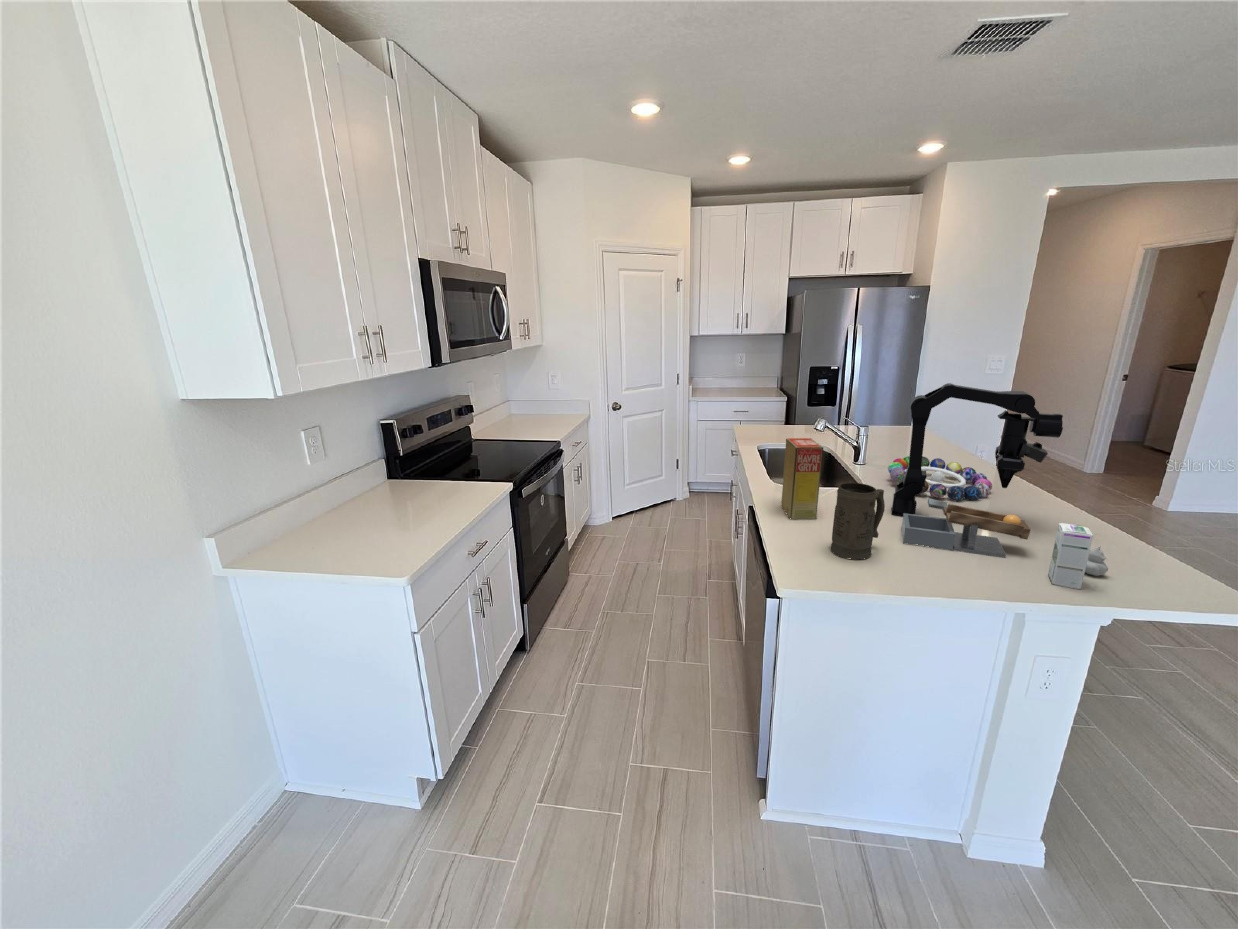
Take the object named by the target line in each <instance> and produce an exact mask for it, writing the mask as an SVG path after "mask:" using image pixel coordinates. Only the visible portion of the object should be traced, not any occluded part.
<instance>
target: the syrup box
mask: <svg viewBox="0 0 1238 929" xmlns="http://www.w3.org/2000/svg"><path fill="white" fill-rule="evenodd" d="M1056 531H1057V532H1056V535H1055V536H1056V537H1055V540H1054V545H1053V550H1052V555H1051V559H1050V564H1049V568H1048V574H1047V575H1048V578H1049V580H1050V583H1051V584H1052V585H1056V586H1060V587H1065V588H1069V589H1070V588H1071V589H1076V590H1081V589H1082V585H1083V582H1084V578H1085V574H1086V573H1085V569H1086V565H1087V560H1088V556H1089V551H1090V550H1091V545H1092V541H1093V537H1094V535H1093V533H1092V531H1091V530H1090V529H1089V527H1088V526H1086V525H1079V524H1074V523H1073V524H1072V523H1062V522H1058V527H1057V530H1056Z"/></svg>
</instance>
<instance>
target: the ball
mask: <svg viewBox="0 0 1238 929" xmlns="http://www.w3.org/2000/svg"><path fill="white" fill-rule="evenodd" d="M1006 515H1007V514H1006ZM1021 520H1022V519H1020V517H1019V516H1017V515H1014V514H1008V515H1007V516H1005V517H1004V519H1003V522H1008V523H1013V524H1018V525H1020V524H1021Z"/></svg>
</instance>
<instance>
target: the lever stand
mask: <svg viewBox="0 0 1238 929" xmlns="http://www.w3.org/2000/svg"><path fill="white" fill-rule="evenodd" d="M962 526H963V527H962V532H956V531H954V532H955V540H954V546H953V551H954V550H955V551H956V552H961V551H964V552H963V553H968V552H969V553H970V554H976V555H984V556H989V557H991V556H992V557H998V558H1002V559H1003V558H1005V559H1006V558H1007V554H1006V552H1005V549H1004V548H1003V546H1002V544H1001V542H1000V540H999V538H998V537H995V536H988V535H987V536H986V535H979V534H978V530H979V529H978V524H971V525H970V527H969V526H964V525H962ZM969 553H968V554H969Z"/></svg>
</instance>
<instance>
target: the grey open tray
mask: <svg viewBox="0 0 1238 929" xmlns="http://www.w3.org/2000/svg"><path fill="white" fill-rule="evenodd" d="M901 520H902V522H901V529H900V530H901V537H903V538H902V544H904V543H908V544H907V545H911V544H918V545H924V546H923V547H925V546H929V547H928V548H931V547H934V548H933V549H938V548H943V549H942V550H945V549H948V550H947V551H952V550H953V551H954V549H953V546H954V540H955V532H956V531H955V529H954V527H953V523H950V522H948V521H947V518H945V517H939V516H929V515H921V514H906V513H903V516H902V519H901ZM918 545H917V546H918Z"/></svg>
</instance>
